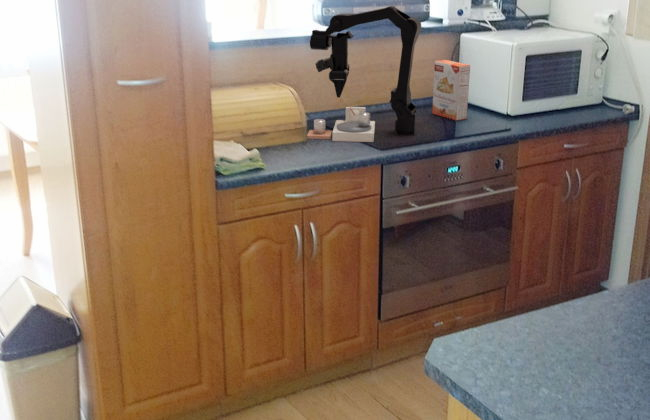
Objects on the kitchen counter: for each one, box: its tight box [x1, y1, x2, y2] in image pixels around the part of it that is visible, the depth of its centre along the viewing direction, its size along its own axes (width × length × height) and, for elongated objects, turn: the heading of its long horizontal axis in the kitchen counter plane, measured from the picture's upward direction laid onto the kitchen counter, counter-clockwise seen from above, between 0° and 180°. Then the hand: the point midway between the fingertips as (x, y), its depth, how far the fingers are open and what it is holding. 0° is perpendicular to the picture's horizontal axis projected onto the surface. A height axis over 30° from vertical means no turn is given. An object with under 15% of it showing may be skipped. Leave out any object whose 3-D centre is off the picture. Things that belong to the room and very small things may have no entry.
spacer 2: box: [358, 112, 371, 128], centre depth 256 cm, size 4×4×4 cm
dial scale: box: [331, 106, 376, 143], centre depth 259 cm, size 14×18×8 cm
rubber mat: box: [306, 129, 333, 140], centre depth 259 cm, size 8×8×1 cm
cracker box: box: [431, 59, 471, 122], centre depth 282 cm, size 14×6×21 cm, turn 32°
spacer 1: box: [313, 118, 326, 135], centre depth 258 cm, size 4×4×4 cm
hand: (339, 94), depth 267 cm, fingers open, 9 cm apart
